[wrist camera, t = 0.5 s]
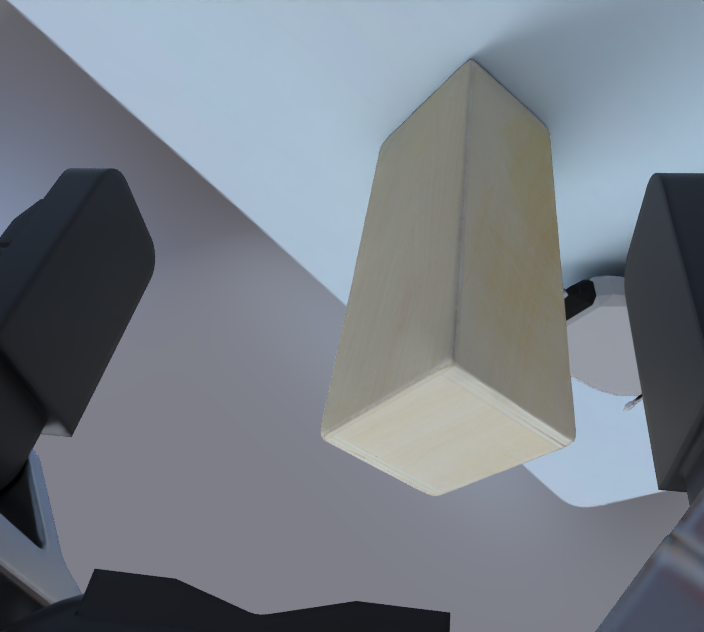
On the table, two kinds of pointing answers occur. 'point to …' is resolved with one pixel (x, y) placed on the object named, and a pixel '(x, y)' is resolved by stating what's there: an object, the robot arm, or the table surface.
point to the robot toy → (601, 337)
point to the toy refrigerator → (456, 298)
